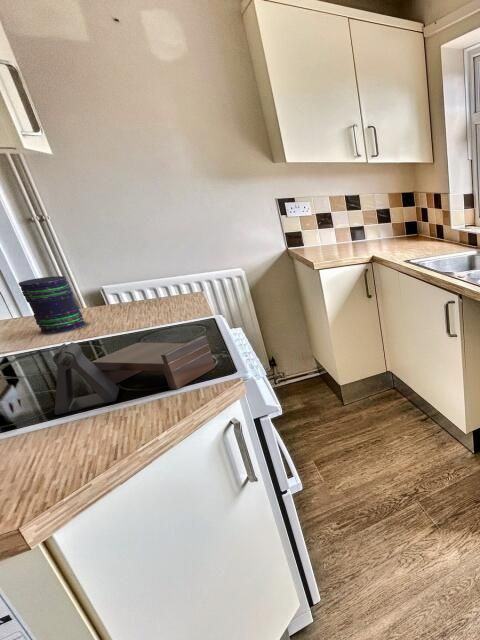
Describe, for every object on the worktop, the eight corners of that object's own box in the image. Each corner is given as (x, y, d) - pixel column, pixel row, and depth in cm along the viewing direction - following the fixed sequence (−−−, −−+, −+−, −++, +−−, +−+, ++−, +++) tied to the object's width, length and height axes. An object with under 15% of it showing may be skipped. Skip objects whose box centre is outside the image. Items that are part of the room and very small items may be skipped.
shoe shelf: (101, 387, 91) (86, 353, 88) (146, 365, 101) (134, 334, 98) (177, 389, 89) (165, 355, 86) (215, 367, 100) (205, 335, 97)
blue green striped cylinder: (42, 328, 129) (20, 280, 123) (86, 320, 135) (67, 274, 129) (39, 336, 122) (15, 286, 116) (85, 328, 128) (64, 279, 122)
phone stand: (55, 415, 81) (26, 358, 76) (62, 402, 85) (35, 348, 81) (116, 400, 85) (93, 346, 81) (120, 389, 90) (98, 337, 85)
